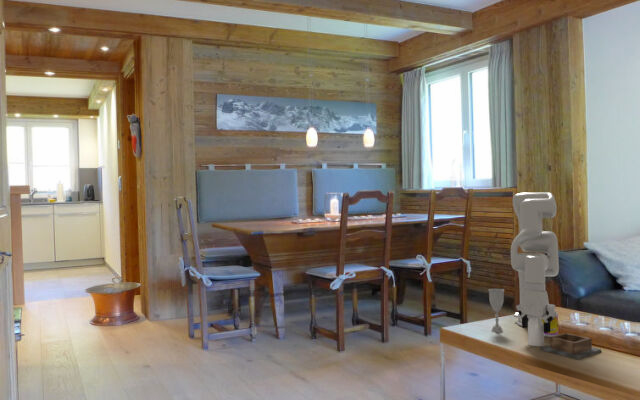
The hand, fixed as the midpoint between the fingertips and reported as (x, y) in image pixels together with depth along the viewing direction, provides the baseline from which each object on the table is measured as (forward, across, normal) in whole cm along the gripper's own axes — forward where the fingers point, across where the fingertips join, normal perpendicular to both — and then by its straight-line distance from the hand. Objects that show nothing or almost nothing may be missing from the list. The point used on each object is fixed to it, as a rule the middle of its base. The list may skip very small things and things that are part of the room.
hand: (536, 330), depth 212 cm
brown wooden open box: (+6, +13, +3) cm, 14 cm away
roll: (+6, 0, 0) cm, 6 cm away
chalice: (+6, -23, +5) cm, 24 cm away
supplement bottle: (+6, -5, +16) cm, 18 cm away
